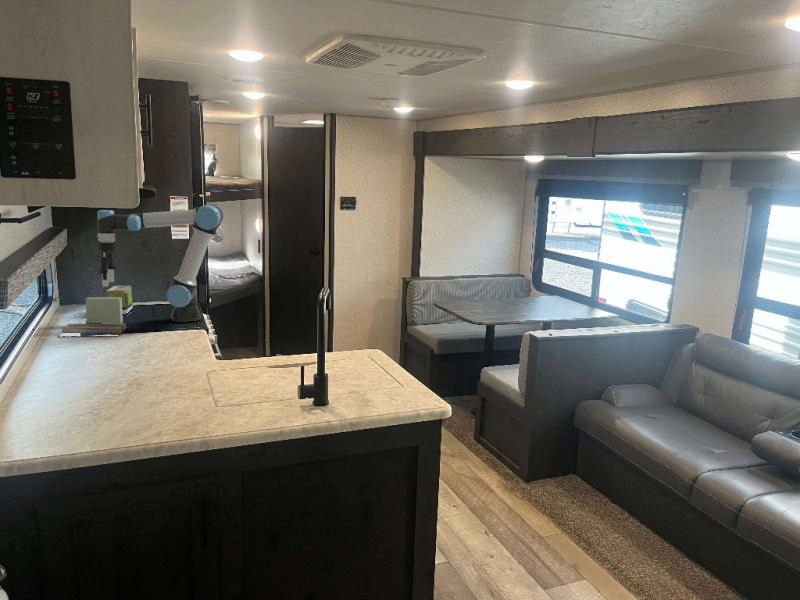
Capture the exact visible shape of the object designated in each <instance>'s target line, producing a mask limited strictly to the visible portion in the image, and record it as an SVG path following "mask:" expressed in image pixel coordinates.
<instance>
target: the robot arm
mask: <svg viewBox="0 0 800 600" xmlns="http://www.w3.org/2000/svg"><path fill="white" fill-rule="evenodd" d="M96 213H97V214H96V215H97V217H96V218H97V219H96V222H97V234H96V237H97V240H98V241H99V242H98V243H97V245H98V250H100V251H102V252H101V261H100V262H101V265H100V271H99V273H100V274H101V284H102V285H101V286H102V287H109V286H110V285H109V283H114V282H115V271H114V270H116V266H115V262H114V261H115V260H114V254H113V251H114V250H116V233H115V231H130V232H131V231H132V232H133V231H140V229H145V228H160V227H161V228H162V227H175V226H188V225H189V226H191V225H192V226H191V227H192V230H193V234H192V236H191V238H190V241H189V243H188V247H187V249H186V253H185V255H184V258H183V259H182V263H181V266H180V268H179V270H178V271H179V272H178V274H177V275H175V276H174V277H173V278H172V280H171V284H170V287H169V288H168V289H167V291H166V300H167V302H168V303H169V304H170V305H172V306H173V310H172V313H171V316H170V319H172V320H175V321H196V320H199V319H200V318H201V319H202V316H201V315H202V314H201V312H200V310H199V307H198V282H197V276H198V273H199V270H200V267H201V265H202V262H203V259H204V257H205V254H206V252H207V248H208V246H209V244H210V241H211V238H212V237H215V236H216V234H217V231H218V228H219V225H220V224H221V223H222V222H223V218H224V214H223V211H222V210H221V208H220V207H218V206H217V205H215V204H205V205H202V206H198V207H194V209H185V210H184V209H183V210H171V211H169V210H167V211H157V212H155V211H154V212H153V211H152V212H143V213H141V212H139V213H130V214H115V211H114V210H112V209H111V210H110V209H108V210H107V209H100V210H97V212H96Z"/></svg>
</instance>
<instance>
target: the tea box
mask: <svg viewBox="0 0 800 600" xmlns="http://www.w3.org/2000/svg"><path fill="white" fill-rule="evenodd" d="M105 297H122V314H126V313H128V312H129V311H130V310H131V309H132V308H133V307H134V305H133V294H132V285H113V286H111V287H109V288H108V289H106V290H105ZM133 309H134V308H133Z"/></svg>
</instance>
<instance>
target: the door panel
mask: <svg viewBox="0 0 800 600" xmlns="http://www.w3.org/2000/svg"><path fill="white" fill-rule="evenodd" d="M85 308H86V309H85V312H86V313H85V314H86V315H85V316H86V324H87V323H90V322H91V323H122V322H123V323H124V319H123V318H124V316H123V315H122V297H106V296H105V297H103V296H101V297H97V296H96V297H94V296H93V297H86V298H85Z"/></svg>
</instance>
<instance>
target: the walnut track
mask: <svg viewBox="0 0 800 600" xmlns="http://www.w3.org/2000/svg"><path fill="white" fill-rule="evenodd" d="M126 326H127V325H126V323H125V322H123V323H102V324H87V323H68V324H67V326H62V327H61V333H80V332H112V333H113V334H111V335H119V334H120V333H121V332H122V331H123V330H124V329H125V328H127V327H126ZM121 329H123V330H121Z"/></svg>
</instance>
